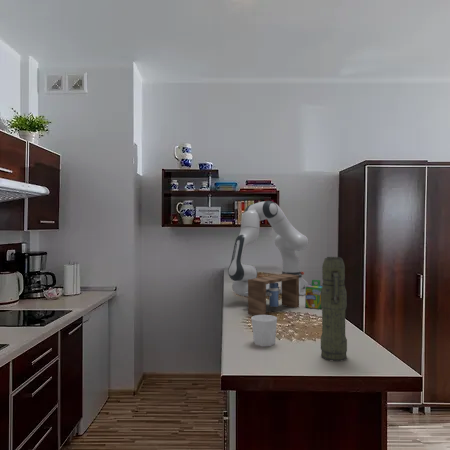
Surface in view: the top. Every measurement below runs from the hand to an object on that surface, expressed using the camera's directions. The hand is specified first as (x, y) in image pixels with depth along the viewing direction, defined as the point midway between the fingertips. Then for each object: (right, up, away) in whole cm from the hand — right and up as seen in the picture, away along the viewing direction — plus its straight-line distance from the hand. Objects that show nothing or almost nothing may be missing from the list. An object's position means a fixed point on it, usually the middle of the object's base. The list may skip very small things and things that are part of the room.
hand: (275, 293), depth 206 cm
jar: (-1, -6, +1) cm, 7 cm away
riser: (0, -9, +1) cm, 9 cm away
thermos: (+12, -10, -69) cm, 71 cm away
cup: (-11, -10, -54) cm, 56 cm away
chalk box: (+23, -9, +8) cm, 26 cm away
